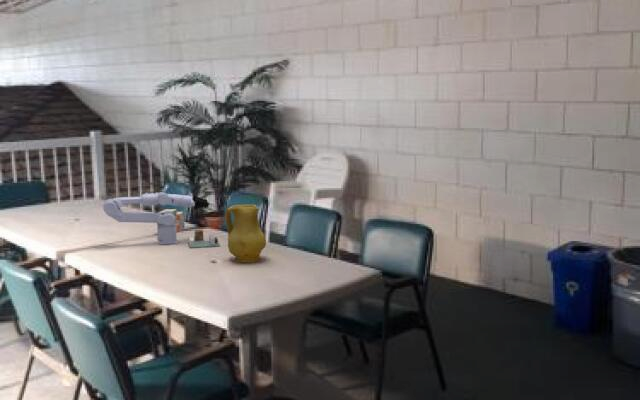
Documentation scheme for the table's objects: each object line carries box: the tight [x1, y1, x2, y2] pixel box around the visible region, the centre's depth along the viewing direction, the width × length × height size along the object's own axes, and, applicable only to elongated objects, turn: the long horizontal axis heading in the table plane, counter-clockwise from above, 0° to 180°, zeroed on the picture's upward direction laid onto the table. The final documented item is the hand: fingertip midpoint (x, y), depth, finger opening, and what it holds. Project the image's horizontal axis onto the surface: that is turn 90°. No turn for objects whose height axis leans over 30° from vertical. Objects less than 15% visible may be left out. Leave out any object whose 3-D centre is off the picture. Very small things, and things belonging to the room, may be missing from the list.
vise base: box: [187, 235, 221, 249], centre depth 325 cm, size 15×12×4 cm
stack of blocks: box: [156, 208, 186, 233], centre depth 357 cm, size 21×6×12 cm, turn 168°
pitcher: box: [224, 204, 267, 264], centre depth 295 cm, size 17×19×25 cm
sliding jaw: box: [208, 234, 219, 245], centre depth 326 cm, size 4×10×3 cm, turn 15°
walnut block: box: [194, 229, 204, 242], centre depth 336 cm, size 4×5×5 cm
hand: (207, 203), depth 333 cm, fingers open, 7 cm apart
